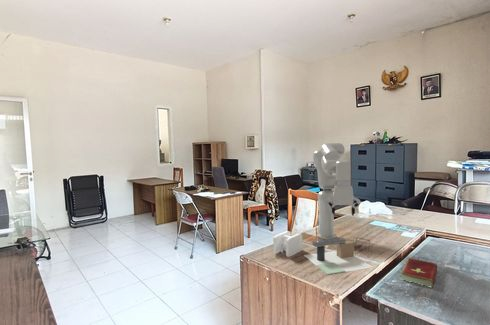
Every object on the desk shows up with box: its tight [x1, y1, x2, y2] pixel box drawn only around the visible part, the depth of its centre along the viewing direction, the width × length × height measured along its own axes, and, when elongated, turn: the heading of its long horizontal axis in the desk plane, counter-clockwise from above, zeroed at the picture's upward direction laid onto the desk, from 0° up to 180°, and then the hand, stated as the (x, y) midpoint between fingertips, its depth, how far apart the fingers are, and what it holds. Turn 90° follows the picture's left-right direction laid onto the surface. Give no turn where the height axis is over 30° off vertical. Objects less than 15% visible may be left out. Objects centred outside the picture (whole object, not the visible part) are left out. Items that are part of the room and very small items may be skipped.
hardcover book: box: [400, 257, 438, 287], centre depth 129 cm, size 12×21×4 cm, turn 141°
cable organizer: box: [272, 230, 304, 258], centre depth 157 cm, size 15×11×12 cm
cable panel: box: [303, 239, 373, 276], centre depth 143 cm, size 24×26×9 cm
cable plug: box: [316, 246, 326, 261], centre depth 145 cm, size 4×4×7 cm
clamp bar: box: [312, 237, 346, 248], centre depth 146 cm, size 3×18×2 cm, turn 105°
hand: (343, 214), depth 147 cm, fingers open, 9 cm apart
